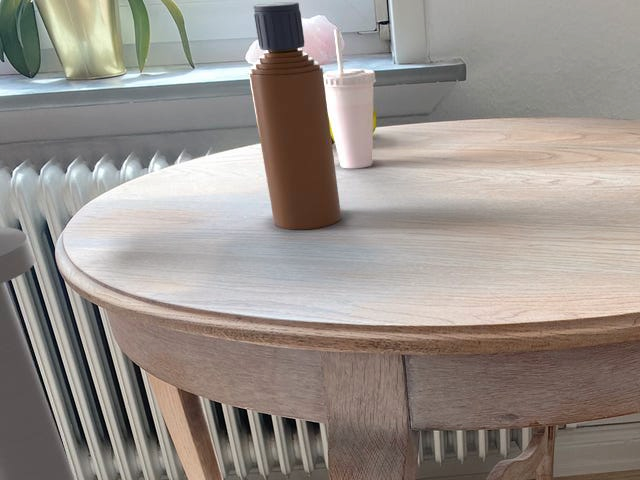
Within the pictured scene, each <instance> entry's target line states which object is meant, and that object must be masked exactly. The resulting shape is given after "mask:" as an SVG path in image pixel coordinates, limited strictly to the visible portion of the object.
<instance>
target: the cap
mask: <svg viewBox="0 0 640 480" xmlns="http://www.w3.org/2000/svg"><path fill="white" fill-rule="evenodd" d="M253 12H254V14H253V16H254V22H255V28H256V34H257V41H258V46H259V49H260V50H262V51H267V50H287V49H296V48H299V49H302V48H303V47H305V35H304V28H303V27H304V26H303V22H302V15H301V9H300V2H297V1H296V2H295V1H285V2H284V1H281V2H267V3H266V2H265V3H257V4H254V5H253Z"/></svg>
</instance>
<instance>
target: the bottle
mask: <svg viewBox="0 0 640 480" xmlns="http://www.w3.org/2000/svg"><path fill="white" fill-rule="evenodd" d="M258 58H259V60H256V61H255V62H254V65H252V66H251V67H250V71H249V72H248V75H249V82H250V89H251V95H252V99H253V106H254V111H255V118H256V123H257V129H258V135H259V141H260V146H261V153H262V158H263V166H264V170H265V176H266V177H265V178H266V182H267V190H268V195H269V201H270V206H271V211H272V218H273V219H272V220H273V224H274V225H275V226H276V227H277V228H281V229H286V230H295V231H298V230H301V231H302V230H312V229H319V228H325V227H327V226H328V227H329V226H331V225H333V224H334V225H335V224H336V223H337V222H340V220H341V219H342V213H341V204H340V196H339V188H338V181H337V173H336V165H335V157H334V147H333V145H332V140H331V132H330V124H329V116H328V108H327V100H326V92H325V84H324V77H323V73H324V70H323V67H322V66H320V62H319V61H315V59H314V57H311V56H309V53H307V52H303V49H302V48H296V49H287V50H263V55H260V56H259V57H258Z"/></svg>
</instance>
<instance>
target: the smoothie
mask: <svg viewBox="0 0 640 480" xmlns="http://www.w3.org/2000/svg"><path fill="white" fill-rule="evenodd" d="M333 31H334V41H335V49H336V57H337V66H338V69H336V70H335V69H334V70H328V71H323V77H324V84H325V92H326V100H327V108H328V114H329V118H330V122H331V127H332V131H333V135H334V139H335V143H336V144H335V143H334V144H335V147H336V151H337V155H338V160H339V164H340V167H341V168H344V169H351V170H352V169H363V168H367V167H371V166H372V165H373V152H374V151H373V147H374V146H373V144H374V143H373V142H374V133H373V107H374V84H375V83H376V82H377V79H376V72H375V71H374V70H372V69H366V68H365V69H364V68H349V69H348V68H347V69H345V68H344V67H345V66H344V60H343V51H342V41H341V33H340V32H341V31H340V28H334V29H333Z"/></svg>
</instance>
